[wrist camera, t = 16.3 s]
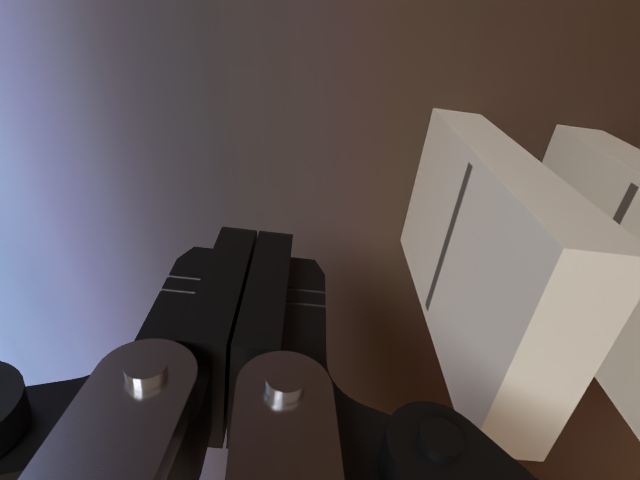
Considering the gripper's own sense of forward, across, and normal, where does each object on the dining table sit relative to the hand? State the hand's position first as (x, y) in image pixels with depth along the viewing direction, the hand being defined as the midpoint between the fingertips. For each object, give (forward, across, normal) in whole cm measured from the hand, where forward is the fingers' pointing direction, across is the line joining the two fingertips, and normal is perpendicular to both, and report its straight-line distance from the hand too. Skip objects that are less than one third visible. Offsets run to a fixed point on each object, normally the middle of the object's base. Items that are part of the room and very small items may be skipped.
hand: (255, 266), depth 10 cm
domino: (+7, -6, 0) cm, 9 cm away
